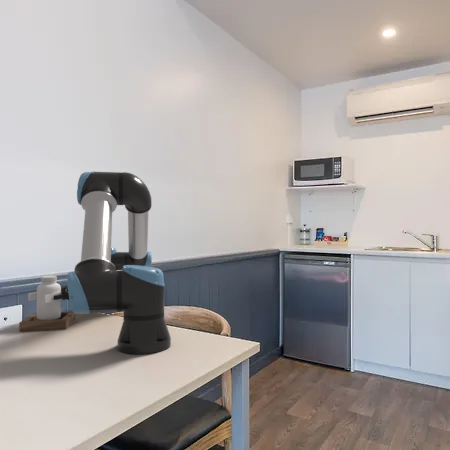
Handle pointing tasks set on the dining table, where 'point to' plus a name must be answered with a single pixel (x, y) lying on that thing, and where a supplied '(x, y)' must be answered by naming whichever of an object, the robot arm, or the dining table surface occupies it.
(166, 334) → the robot arm
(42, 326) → the tray
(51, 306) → the pill bottle
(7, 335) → the dining table surface
